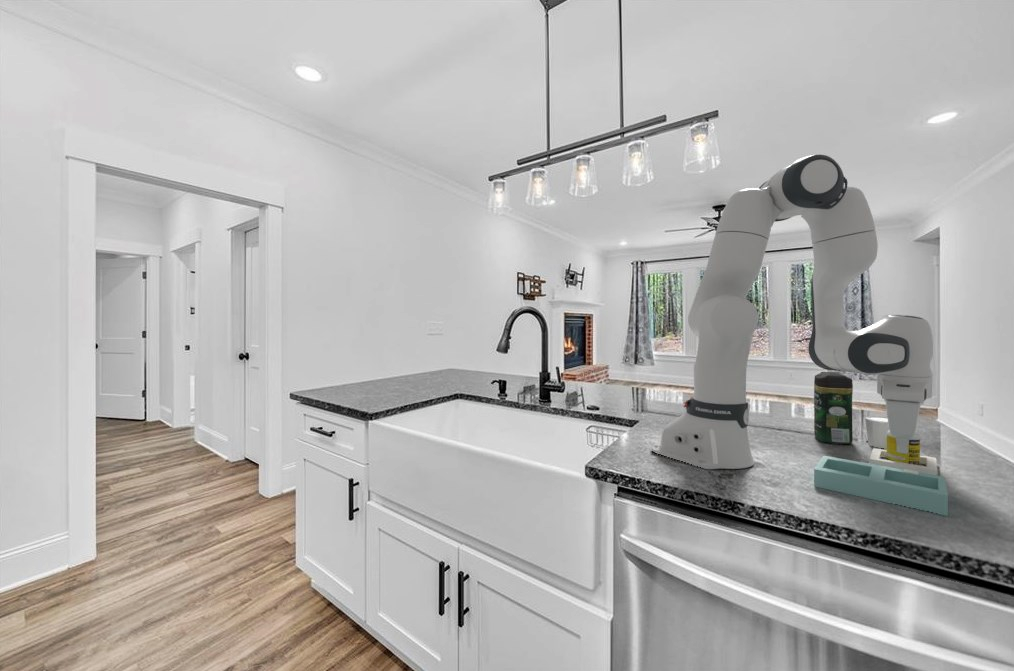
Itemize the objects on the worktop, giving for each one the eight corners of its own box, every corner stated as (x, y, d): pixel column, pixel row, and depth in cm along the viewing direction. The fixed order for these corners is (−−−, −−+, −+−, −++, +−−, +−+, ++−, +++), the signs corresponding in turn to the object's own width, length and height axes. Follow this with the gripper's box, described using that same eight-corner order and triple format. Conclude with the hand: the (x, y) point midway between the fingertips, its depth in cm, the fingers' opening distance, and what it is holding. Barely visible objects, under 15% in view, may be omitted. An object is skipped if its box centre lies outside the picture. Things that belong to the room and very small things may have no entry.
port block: (814, 486, 81) (814, 468, 81) (823, 471, 89) (823, 454, 88) (947, 516, 68) (947, 494, 68) (944, 495, 76) (945, 475, 76)
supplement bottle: (912, 470, 88) (912, 425, 88) (881, 463, 93) (881, 420, 93) (924, 466, 90) (925, 423, 90) (893, 459, 95) (894, 417, 95)
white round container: (908, 451, 101) (909, 423, 101) (876, 449, 102) (876, 422, 102) (888, 442, 108) (889, 416, 107) (858, 441, 109) (859, 415, 109)
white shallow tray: (869, 465, 92) (869, 458, 92) (873, 454, 99) (873, 448, 99) (937, 477, 84) (937, 470, 84) (935, 464, 91) (936, 457, 91)
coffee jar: (811, 434, 117) (811, 369, 116) (846, 437, 113) (847, 370, 112) (817, 443, 108) (818, 373, 108) (856, 447, 104) (856, 375, 104)
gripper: (887, 381, 100) (886, 436, 101) (881, 392, 86) (880, 456, 87) (923, 383, 96) (922, 441, 96) (924, 395, 82) (923, 463, 82)
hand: (902, 448), depth 91 cm, fingers closed on supplement bottle, 5 cm apart
